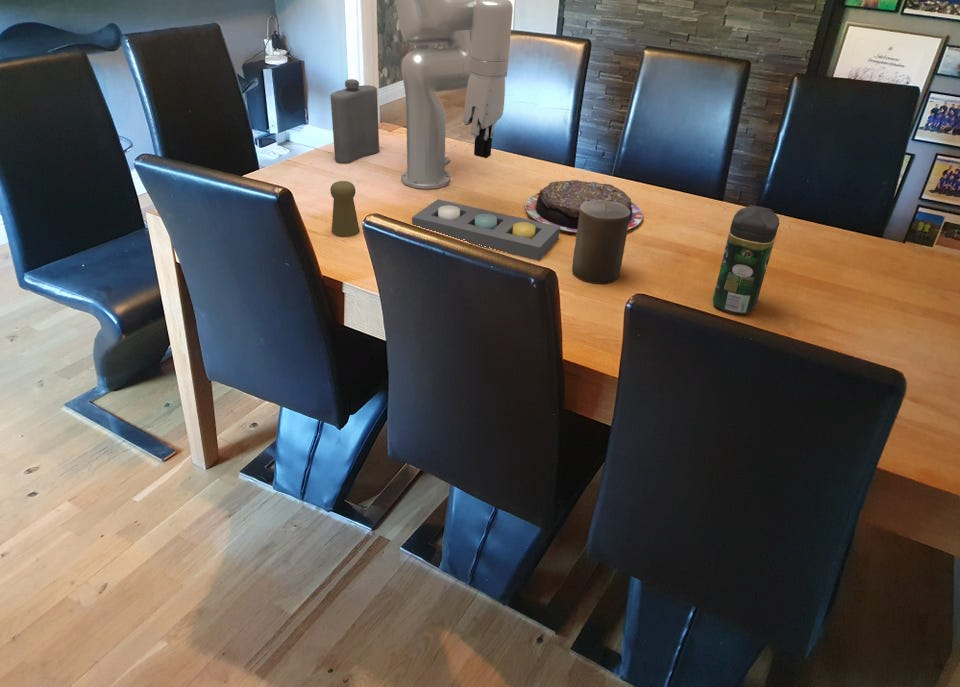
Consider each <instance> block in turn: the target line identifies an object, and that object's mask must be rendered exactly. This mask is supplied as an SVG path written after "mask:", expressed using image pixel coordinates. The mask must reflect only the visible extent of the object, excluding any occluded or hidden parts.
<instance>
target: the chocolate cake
mask: <svg viewBox="0 0 960 687" xmlns="http://www.w3.org/2000/svg"><path fill="white" fill-rule="evenodd" d="M597 200H603V201H610V202H616V203H619V204H622V205H624V206H626V207H627V208H628V209H629V210H630V217H629V224H628V230H627V232H628V231H633V230H635V228H636V227H638V226H639V224H641V222H642V221H643V218H644V213H643V210H642V209H641V208H640V207H639V206H638V205H637V204H635V203H634V202H632V199H631V197H629V196H628V194H627V193H626V192H625V191H623V190H622V189H620V188H618V187H616V186H615V185H613V184H609V183H600V182H597V181H589V182H588V181H584V180H578V179H575V180H574V179H571V180H570V179H569V180H563V181H562V180H559V181H558V180H556V181H553V182H550V183H548V185H547V186H545V187H543V189H540V190H539V192H537V193H535V194H532V195H531V196H530V197H528V199H527V200H526V202H525V203H524V207H525V211H526V214H527V215H528V216H529V217H530V218H531V219H532V220H533V221H537V222H542V223H546V224H551V225H555V226H559V227H560V232H561V233H563V234H566V235H571V236H572V235H573V236H574V235H575V236H576V235H577V228H578V221H579V213H580V207H581V205H582V204H583V203H584V202H588V201H597Z"/></svg>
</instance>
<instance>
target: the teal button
mask: <svg viewBox="0 0 960 687" xmlns="http://www.w3.org/2000/svg"><path fill="white" fill-rule="evenodd" d="M475 226H479V227H483V228H487V229H492V230H493V229H494V228H495V227H496V226H497V217H496V216H494V215H492V214H478V215H476V216H475Z"/></svg>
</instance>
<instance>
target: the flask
mask: <svg viewBox="0 0 960 687" xmlns="http://www.w3.org/2000/svg"><path fill="white" fill-rule="evenodd" d="M344 87H345V88H342V89H338V90H336V91H334V92H332V93H331V94H330V95H329V96H330V107H331V109H330V110H331V122H332V133H333V134H332V135H333V136H332V137H333V147H334V148H333V149H334V152H333V153H334V160H335V162H336V163H338V164H344V165H345V164H351V163H353V162H354V161H357V160H360V159H362V158H364V157H368V156H372V155H377V154H378V153H379V152H380V137H379V111H378V110H379V109H378V108H379V106H378V105H379V104H378V88H377V87H376V86H374V85H369V84H368V85H360V82H359V80H357V79H354V78H352V79H351V78H348V79H346V80H345V81H344Z"/></svg>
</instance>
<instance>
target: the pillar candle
mask: <svg viewBox="0 0 960 687" xmlns="http://www.w3.org/2000/svg"><path fill="white" fill-rule="evenodd" d="M629 217H630V210H629V209H628V208H627V207H626V206H624V205H622V204H619V203H616V202H610V201H603V200H597V201H588V202H584V203H583V204H582V205H581V207H580V213H579V221H578V228H577V234H575V236H576V237H575V243H574V250H573V258H572V266H571V271H572V274H573V275H575V277H576V278H578V279H579V280H582V281H583V282H587V283H593V284H610V283H613V282H616V281H617V280H618V279H619V278H620V275H621V270H622V263H623V258H624V252H625V246H626V241H627V235H628V231H627V230H628V224H629Z"/></svg>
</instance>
